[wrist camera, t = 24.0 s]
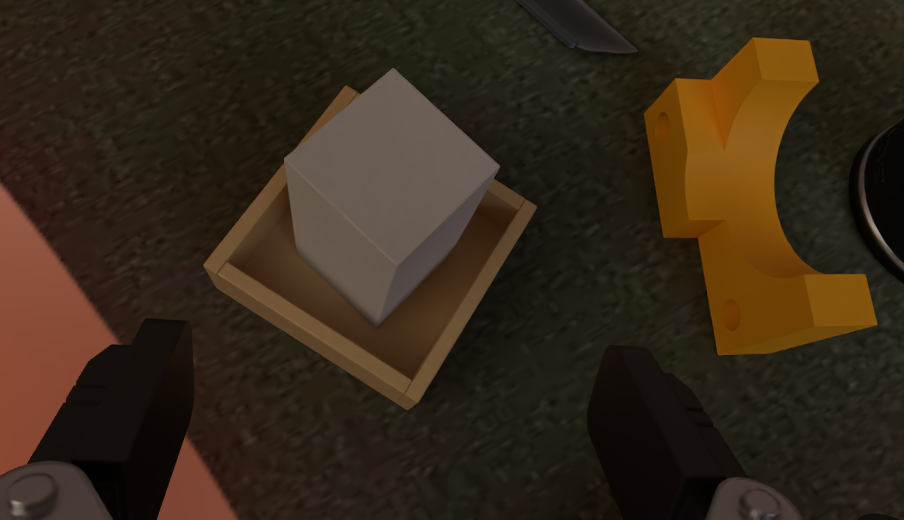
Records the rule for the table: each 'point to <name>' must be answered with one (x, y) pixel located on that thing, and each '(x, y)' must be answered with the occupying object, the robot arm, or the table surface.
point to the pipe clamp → (746, 201)
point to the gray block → (384, 195)
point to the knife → (578, 26)
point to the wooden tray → (332, 318)
